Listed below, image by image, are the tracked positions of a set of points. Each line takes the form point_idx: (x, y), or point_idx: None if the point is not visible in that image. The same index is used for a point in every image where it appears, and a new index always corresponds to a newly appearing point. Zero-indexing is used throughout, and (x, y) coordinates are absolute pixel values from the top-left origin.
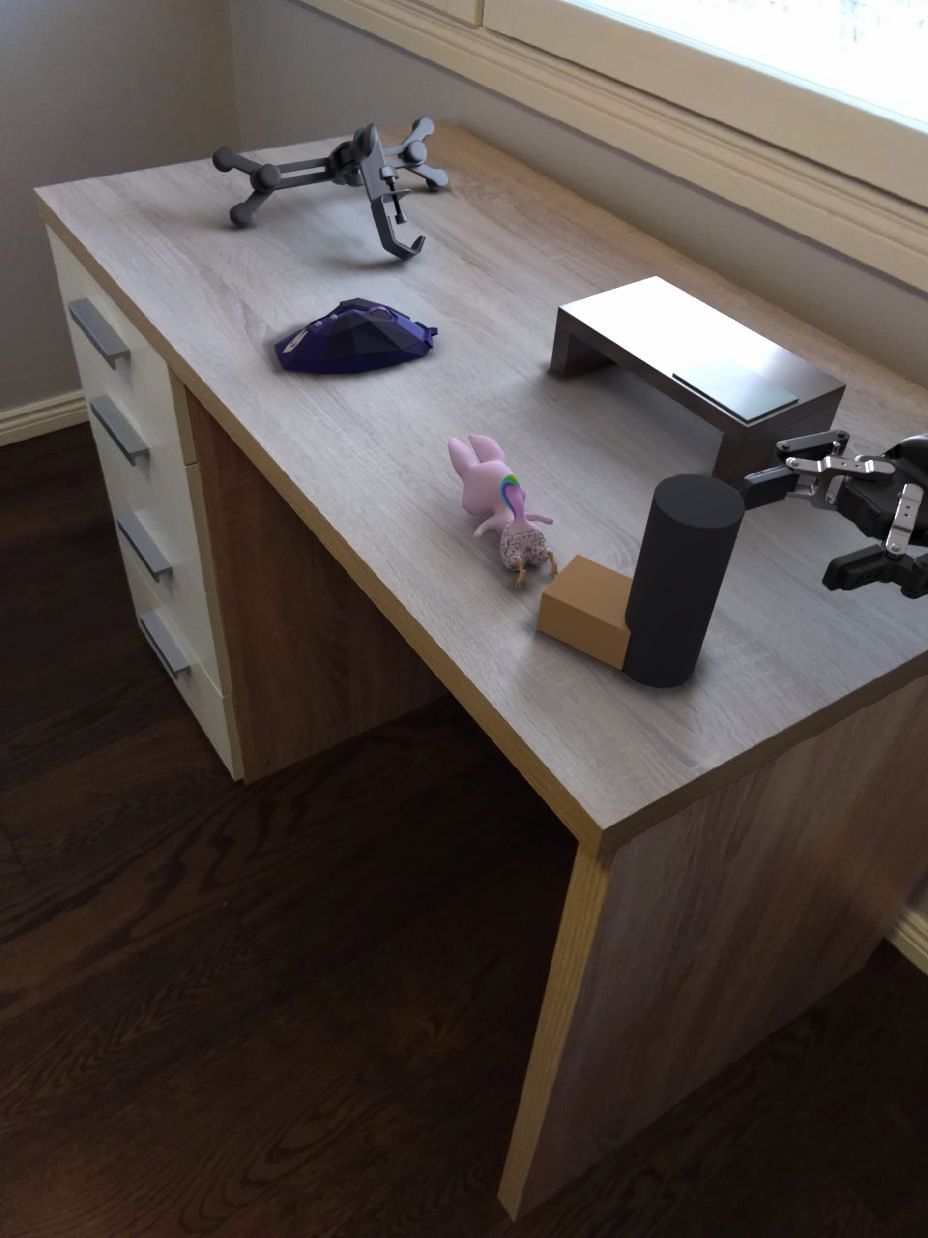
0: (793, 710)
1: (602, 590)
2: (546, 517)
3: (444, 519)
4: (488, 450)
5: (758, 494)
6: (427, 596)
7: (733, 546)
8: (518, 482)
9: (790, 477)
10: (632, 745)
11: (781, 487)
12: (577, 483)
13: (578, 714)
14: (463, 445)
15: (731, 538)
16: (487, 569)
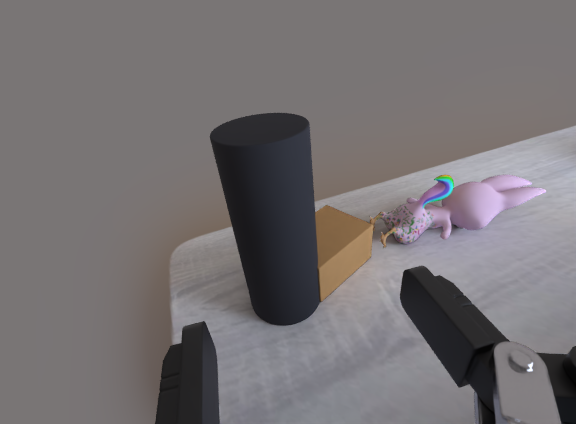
0: None
1: (325, 232)
2: (445, 231)
3: None
4: (513, 189)
5: (416, 302)
6: (360, 196)
7: (229, 185)
8: (446, 184)
9: (467, 349)
10: (211, 266)
11: (451, 347)
12: (559, 286)
13: None
14: (513, 180)
15: (216, 160)
16: None
